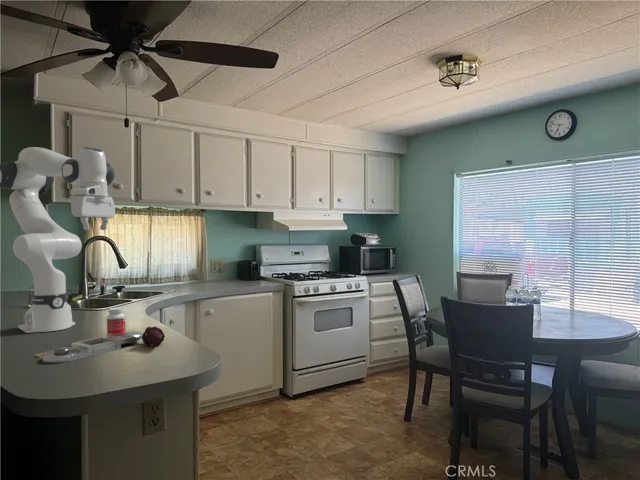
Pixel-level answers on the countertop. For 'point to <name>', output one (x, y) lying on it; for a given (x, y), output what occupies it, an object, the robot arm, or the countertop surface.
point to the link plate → (43, 353)
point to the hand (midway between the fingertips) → (95, 230)
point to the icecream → (153, 336)
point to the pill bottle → (115, 321)
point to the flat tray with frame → (92, 347)
